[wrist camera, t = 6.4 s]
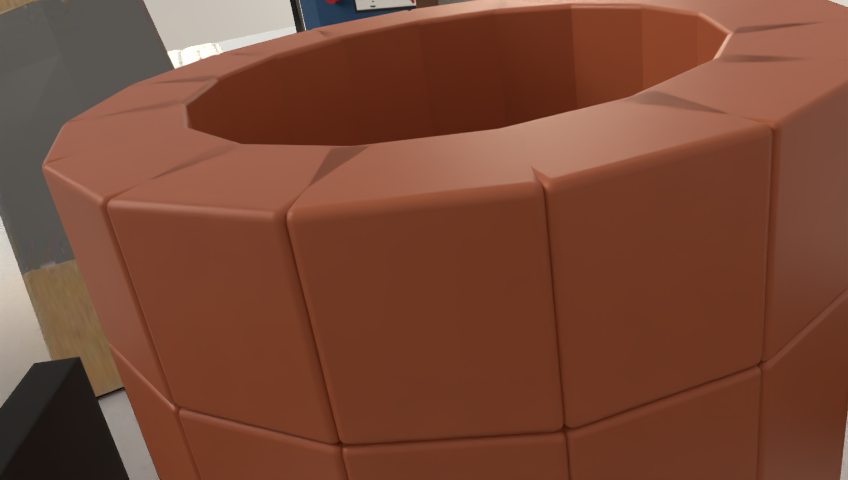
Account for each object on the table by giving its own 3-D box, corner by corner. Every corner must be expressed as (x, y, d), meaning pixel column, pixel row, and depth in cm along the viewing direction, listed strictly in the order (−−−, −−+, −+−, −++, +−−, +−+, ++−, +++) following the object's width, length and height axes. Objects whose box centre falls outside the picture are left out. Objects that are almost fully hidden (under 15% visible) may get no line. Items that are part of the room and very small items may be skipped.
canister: (191, 857, 12) (-145, 183, 7) (427, 488, 19) (337, 9, 14) (777, 1221, 8) (911, 258, 3) (813, 587, 15) (875, -37, 10)
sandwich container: (60, 416, 25) (-152, -71, 18) (28, 265, 37) (-105, -56, 31) (300, 319, 28) (190, -118, 22) (197, 211, 41) (108, -88, 34)
